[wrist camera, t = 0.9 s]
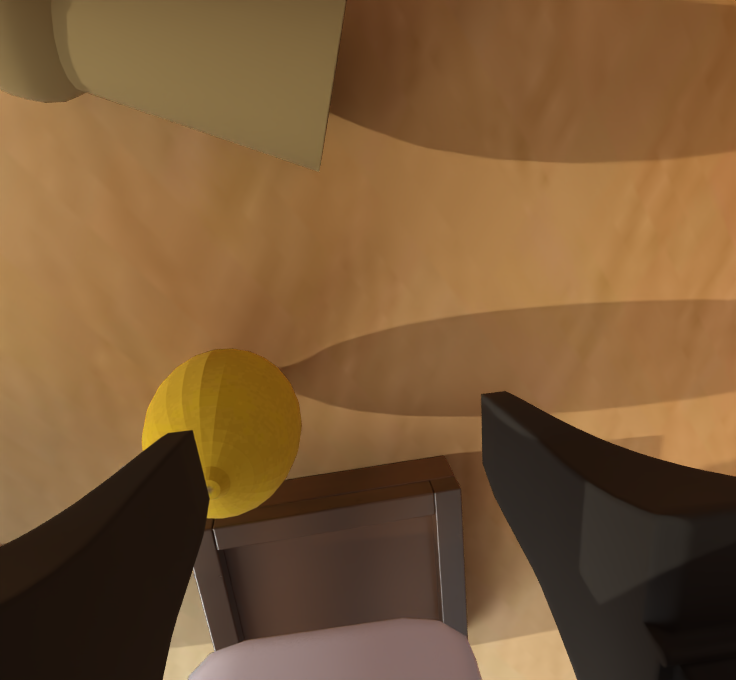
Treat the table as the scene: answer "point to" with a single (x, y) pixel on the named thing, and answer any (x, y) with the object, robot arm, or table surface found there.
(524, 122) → the table surface
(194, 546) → the robot arm
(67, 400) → the table surface
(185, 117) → the cork
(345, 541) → the tray
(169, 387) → the lemon
